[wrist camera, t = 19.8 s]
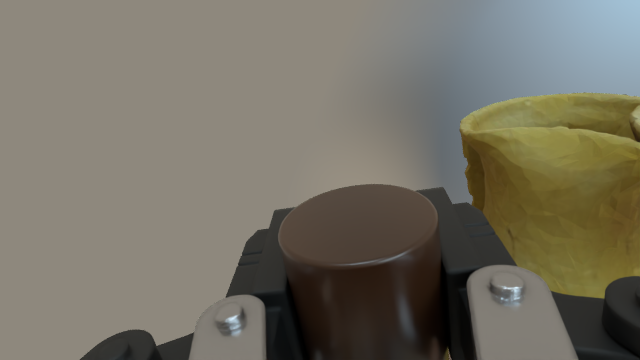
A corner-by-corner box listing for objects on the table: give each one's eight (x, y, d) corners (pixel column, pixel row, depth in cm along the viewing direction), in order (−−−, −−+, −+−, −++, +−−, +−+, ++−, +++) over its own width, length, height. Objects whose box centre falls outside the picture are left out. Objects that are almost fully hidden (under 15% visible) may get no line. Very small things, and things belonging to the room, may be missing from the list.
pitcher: (446, 453, 33) (440, 152, 24) (451, 302, 49) (448, 89, 40) (720, 508, 27) (847, 143, 18) (623, 317, 44) (665, 74, 35)
